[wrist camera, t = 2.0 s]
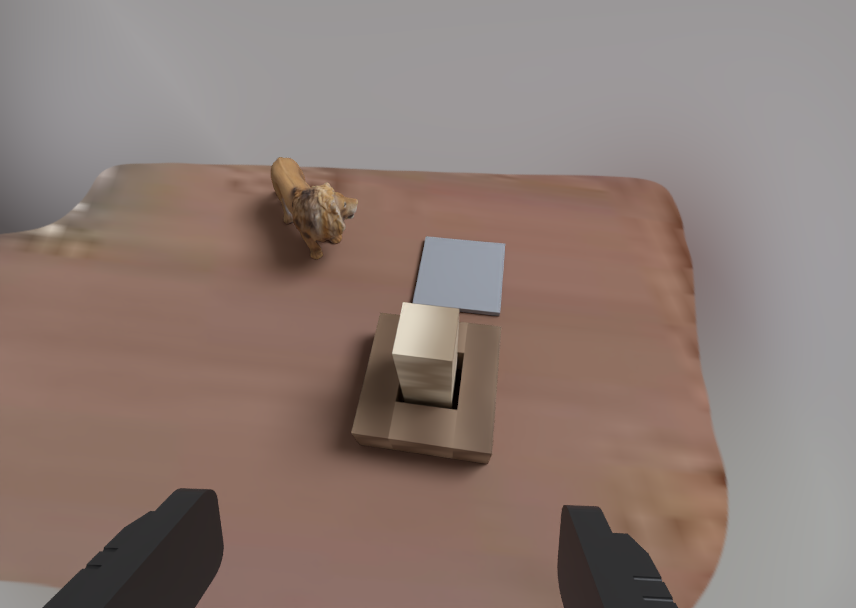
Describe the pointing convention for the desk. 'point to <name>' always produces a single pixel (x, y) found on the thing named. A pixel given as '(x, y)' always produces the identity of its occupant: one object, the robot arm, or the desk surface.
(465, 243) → the slate mat
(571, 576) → the robot arm
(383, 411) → the socket block
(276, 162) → the lion figurine
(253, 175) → the desk surface
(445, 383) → the birch peg
